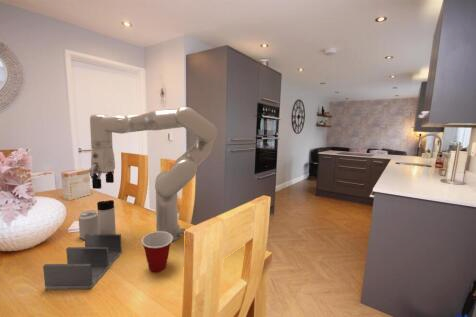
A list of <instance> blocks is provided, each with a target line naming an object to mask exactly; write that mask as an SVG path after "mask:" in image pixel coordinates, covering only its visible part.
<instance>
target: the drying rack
mask: <svg viewBox="0 0 476 317" xmlns="http://www.w3.org/2000/svg"><path fill="white" fill-rule="evenodd" d="M83 241H84V247H83V246H75V247H73V246H71V247H70V246H67V247H66V249H65V250H66V262H67V263H46V264H44V265H43V266H42V270H43V279H44V287H45V290H91V289H92V288H93V287H94V286H95V285H96V284H97V282H98V281H99V280H100V279H101V278H102V276H104V275H105V273H106V272H107V271H108V270H109V268H110V267H111V266H112V265H113V263H114V262H116V260H117V259H118V258H119V256H121V254H122V253H123V248H122V234H121V233H116V234H85V235H84V239H83Z"/></svg>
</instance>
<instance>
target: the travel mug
mask: <svg viewBox="0 0 476 317" xmlns="http://www.w3.org/2000/svg"><path fill="white" fill-rule="evenodd" d="M96 203H97V204H96V205H97V214H98V226H99V234H117V233H116V232H117V231H116V217H115V216H116V213H115V201H114V200H111V199H109V200H102V201H98V202H96Z"/></svg>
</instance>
